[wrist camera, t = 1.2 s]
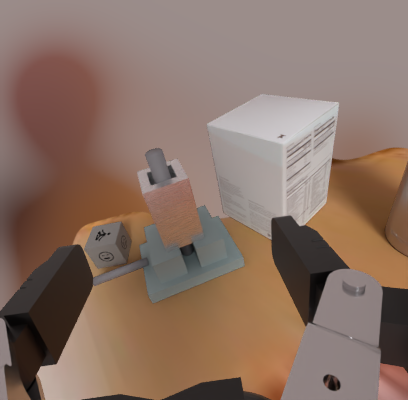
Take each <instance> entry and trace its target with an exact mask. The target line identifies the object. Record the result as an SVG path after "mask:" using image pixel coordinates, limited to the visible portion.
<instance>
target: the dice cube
mask: <svg viewBox="0 0 408 400" xmlns="http://www.w3.org/2000/svg"><path fill="white" fill-rule="evenodd" d="M130 246H131V239H130V237H129V235H128V233H127V231H126V230H125V228H124V226H123V224H122V222H116V223H111V224H106V225H100V226H95V227H93V228H92V231H91V233H90V236H89V238H88V241H87V243H86V246H85V248H84V250H85V251H86V252H87V254H88V255H89V257H90V258H91V260H92V261H93V262H94V264H95V265H96V267H97V268H98V269H99V268H104V267H110V266H115V265H121V264H127V261H128V256H129V251H130Z"/></svg>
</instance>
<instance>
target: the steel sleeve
mask: <svg viewBox="0 0 408 400" xmlns="http://www.w3.org/2000/svg"><path fill="white" fill-rule="evenodd" d="M166 164H167V167H168V170H169V173H170V176H171V179H169V180H166V181H163V182H160V183H157V184H156V183H155V181H154V178H153V175H152V173H151V170H150V168H147V169H144V170H141V171H138V172H137V174H138V178H139V182H140V186H141V190H142V194H143V196H144V199H145V201H146V203H147V206H148V208H149V211H150V213H151V215H152V218H153V220H154V222H155V225H156V227H157V230H158V232H159V234H160V237H161V239H162V241H163V244H164V246H165V249H166V251H167V253H168V252H170V251H173V250H175V249H178V248H181V247H183V246H186V245H188V244H191V243H194V242H196V241H199V240H201V239H204V238H205V237H204V234H203V230H202V226H201V223H200V219H199V215H198V212H197V208H196V204H195V200H194V197H193V193H192V189H191V186H190V182H189V178H188V177H187V175H186V173H185V171H184V169H183V168H182V166H181V164H180V162H179V161H178V159H174V160H171V161H168V162H166Z"/></svg>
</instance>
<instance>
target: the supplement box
mask: <svg viewBox="0 0 408 400" xmlns="http://www.w3.org/2000/svg"><path fill="white" fill-rule="evenodd" d="M338 108H339V103H338V102H327V101H319V100H310V99H301V98H292V97H291V98H290V97H283V96H275V95H267V94H261V95H259V96H257V97H255V98H254V99H252V100H250V101H248V102H246V103H244V104H243V105H241V106H239V107H237V108H235V109H233V110H231V111H230V112H228V113H226V114H224V115H222V116H221V117H218V118H217V119H215V120H213V121H211V122H210V123H208V124H207V129H208V134H209V139H210V144H211V149H212V154H213V160H214V165H215V170H216V175H217V180H218V186H219V191H220V197H221V202H222V207H223V212H224V213H225V214H226V215H228V216H230V217H231V218H233V219H235V220H237V221H239V222H240V223H242V224H244V225H246V226H248V227H249V228H251V229H253V230H255V231H256V232H258V233H260V234H262V235H263V236H265V237H267V238H269V239H271V220H272V218H274V217H281V216H289V215H291V216H292V217H293V219H294V220H295V221H296V222H297V224H298V225H299V226H303V225H305V224H306V223H307V222H308V221H309V220H310V219H311V218H312V217H313V216H314V215H315V214H316V213H317V212H318V211H319V210H320V209H321V208H322V207H323V206H324V205H325V203H326V200H327V192H328V184H329V177H330V169H331V162H332V154H333V146H334V139H335V131H336V123H337V116H338ZM271 240H272V239H271Z"/></svg>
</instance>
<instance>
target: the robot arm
mask: <svg viewBox="0 0 408 400" xmlns="http://www.w3.org/2000/svg"><path fill="white" fill-rule="evenodd" d="M385 235H386V237H387V239H388V241H389V242H390V243H391V245H392V246H393V247H395V248H396V249H397V250H398V251H400V252H401V253H403V254H404V255H406V256H408V162H407V165H406V168H405V171H404V174H403V177H402V180H401V183H400V186H399V189H398V192H397V195H396V198H395V201H394V204H393V206H392V209H391V212H390V215H389V218H388V221H387V224H386V228H385ZM271 239H272V255H273V259H274V263H275V265H276V267H277V269H278V271H279V273H280V275H281V277H282V279H283V281H284V283H285V285H286V287H287V289H288V291H289V293H290V295H291V297H292V299H293V301H294V304H295V306H296V308H297V310H298V312H299V314H300V316H301V318H302V320H303V322H304V324H305V326H306V329H305V332H304V334H303V337H302V340H301V343H300V346H299V349H298V352H297V354H296V357H295V360H294V363H293V366H292V369H291V372H290V374H289V377H288V380H287V383H286V386H285V389H284V392H283V394H282V397H281V400H378V387H379V372H380V363H383V364H389V365H395V366H400V367H404V368H405V370H406V371H407V373H408V289H400V288H390V287H383V286H381V285H380V284H379V283H378V281H377V280H375V279H374V278H373V277H371V276H370V275H368V274H366V273H363V272H361V271H357V270H353V269H350V268H349V267H348V266H347V265H346V264H345V263H344V261H343V260H342V259H341V258H340V257H339V256H338V255H337V254H336V252H335V251H334V250H333V249H332V248H331V247H329V245H328V243H327V242H326V241H325V240H323V238H322V237H321V236H320V234H319V233H318V232H317V231H315V230H314V229H312V228H310V227H308V226H306V225H303V226H299V225H298V224H297V222H296V221H295V220H294V219H293V217H292V216H291V215H289V216H281V217H274V218H272V220H271ZM92 287H93V275H92V272H91V269H90V267H89V264H88V262H87V259H86V256H85V254H84V251H83V249H82V247H81V246H80V245H70V246H63V247H59V248H58V249H57V250H56V251H55V252H54V253H53V255H52V256H51V257H50V258H49V260H48V261H46V262H44V263H43V264H42V265H41V266H39V267H38V268H37V269H35V270H34V271H33V272H32V274H31V275H30V276H29V277H28V279H27V281H25V282H24V283H23V285H22V286H21V287H20V290H18V291H17V292H16V293H15V294H14V296H13V297H12V298H11V299H10V300H9V301H8V303H7V304H6V305H5V306H4V307H3V309H2V310H1V311H0V400H45V397H44V393H43V389H42V385H41V381H40V378H39V377H38V375H37V372H38V371H39V369H40V367H41V366H47V365H54V364H57V362H58V360H59V358H60V356H61V353H62V351H63V349H64V347H65V345H66V343H67V341H68V339H69V336H70V334H71V332H72V330H73V328H74V326H75V324H76V322H77V319H78V317H79V315H80V313H81V311H82V309H83V307H84V305H85V302H86V300H87V298H88V296H89V294H90V292H91V290H92ZM83 400H152V399H146V398H140V397H134V396H128V395H122V394H118V395H111V396H104V397H97V398H90V399H83ZM162 400H271V399H269V398H266V397H264V396H262V395H259V394H255V393H252V392H246V391H243V388H242V382H241V377H239V378H232V379H225V380H217V381H210V382H203V383H200V384H197V385H195V386H193V387H190V388H188V389H186V390H183V391H181V392H179V393H176V394H174V395H172V396H169V397H167V398H165V399H162Z"/></svg>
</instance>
